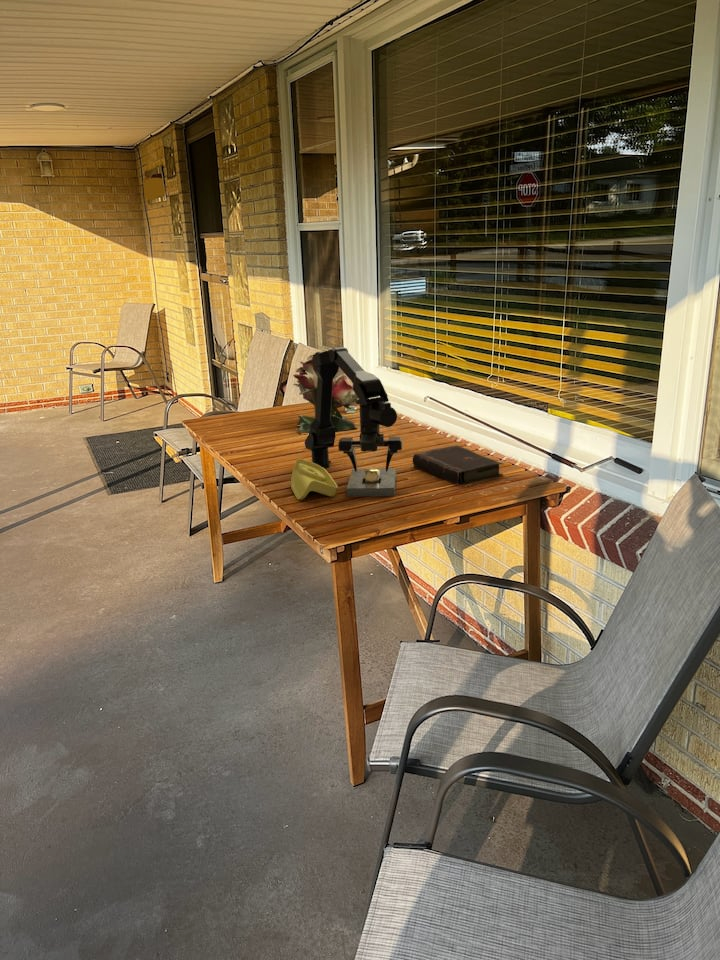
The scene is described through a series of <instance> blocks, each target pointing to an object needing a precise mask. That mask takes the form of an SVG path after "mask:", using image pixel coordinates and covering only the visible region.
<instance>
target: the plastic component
mask: <svg viewBox="0 0 720 960" xmlns="http://www.w3.org/2000/svg"><path fill="white" fill-rule="evenodd" d="M290 478H291V479H290V487H291V491H292V493H293V494H294V496H295V497H296V499H297V500H299V501H303V500H305V498H306V497H307V496H308V494H309V493H310V492H314V493H318V494H321V495H324V496H327V497H330V498H331V497H334V496H335V495H336V493H337V491H338V488H339V486H338V484H337V483H336V482H335V479H333V477H332V476H331V474H330V473H329V472H328V471H327V470H326V469H325V467H321V466H319V465H317V464H315V463H313V462H312V461H311V460H307V459H304V458H300V457H299V458H297V459H296V460H295V463H294V466H293V469H292V473H291V477H290Z"/></svg>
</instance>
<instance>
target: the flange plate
mask: <svg viewBox="0 0 720 960" xmlns="http://www.w3.org/2000/svg"><path fill="white" fill-rule="evenodd" d="M375 468H376V467H375ZM365 469H366V468H357V472H355V470H354V468H352V469H351V472H350V475H349V479H348V482H347V485H346V497H394V496H395V495H394V494H396V485H397V483H396V482H397V468H396V467H393V468H392V467H388V471H387V472H386V467H385V468H381V467H380V468H376V469H378V484H365Z"/></svg>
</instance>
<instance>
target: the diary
mask: <svg viewBox="0 0 720 960" xmlns="http://www.w3.org/2000/svg"><path fill="white" fill-rule="evenodd" d="M412 465H413V467H415V468H418V469H420V470H422V471H425V472H427V473H429V474H430V475H433V476H436V477H438V478H440V479H443V480H445V481H448V482H450V483H452V484H454V485H456V486H458V487H459V486H463V485H468V484H472V483H478V482H482V481H487V480H492V479H495V478H499V477H502V476H503V475H504V473H500V466H501V465H504V463H503V462H500V461H497V460H494V459H492V458H489V457H486V456H484V455H481V454H479V453H476V452H474V451H472V450H471V449H468V448H465V447H463V446H460V445H450V446H445V447H438V448H434V449H430V450H425V451H422V452H417V453H414V454H413V456H412Z"/></svg>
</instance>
